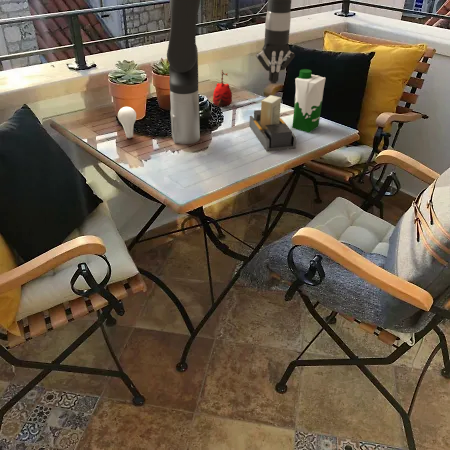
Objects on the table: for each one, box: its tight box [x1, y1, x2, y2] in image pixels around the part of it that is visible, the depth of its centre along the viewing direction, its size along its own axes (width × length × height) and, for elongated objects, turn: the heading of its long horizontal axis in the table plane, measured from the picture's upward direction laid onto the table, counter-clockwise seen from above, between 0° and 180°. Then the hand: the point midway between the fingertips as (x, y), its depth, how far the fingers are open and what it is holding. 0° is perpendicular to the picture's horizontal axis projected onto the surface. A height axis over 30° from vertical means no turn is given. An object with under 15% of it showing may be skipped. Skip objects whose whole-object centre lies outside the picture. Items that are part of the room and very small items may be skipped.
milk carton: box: [291, 68, 326, 133], centre depth 165 cm, size 9×9×20 cm
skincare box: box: [260, 94, 282, 132], centre depth 161 cm, size 6×4×12 cm
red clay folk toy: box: [212, 69, 233, 108], centre depth 185 cm, size 8×7×15 cm
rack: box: [248, 109, 297, 152], centre depth 163 cm, size 10×21×6 cm, turn 13°
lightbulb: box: [117, 106, 137, 139], centre depth 160 cm, size 6×6×11 cm
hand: (273, 82), depth 155 cm, fingers closed
